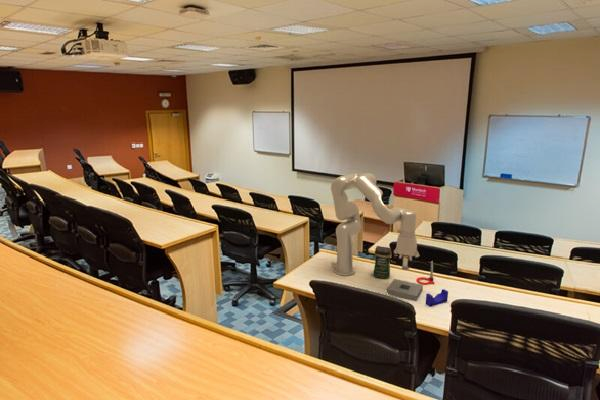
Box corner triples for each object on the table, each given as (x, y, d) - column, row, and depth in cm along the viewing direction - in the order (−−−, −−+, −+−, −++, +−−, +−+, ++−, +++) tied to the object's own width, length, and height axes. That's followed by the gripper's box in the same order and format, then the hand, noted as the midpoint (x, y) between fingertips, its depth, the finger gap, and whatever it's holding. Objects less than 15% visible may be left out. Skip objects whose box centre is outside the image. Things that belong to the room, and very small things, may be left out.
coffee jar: (372, 277, 222) (373, 248, 217) (375, 272, 229) (376, 243, 224) (388, 280, 218) (390, 250, 213) (391, 274, 225) (392, 245, 220)
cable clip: (440, 298, 198) (441, 287, 196) (447, 302, 194) (448, 291, 192) (423, 303, 193) (424, 292, 192) (429, 307, 189) (430, 296, 188)
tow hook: (418, 285, 212) (435, 285, 212) (418, 264, 209) (435, 264, 209) (414, 279, 220) (430, 278, 220) (415, 258, 217) (431, 258, 217)
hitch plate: (386, 293, 202) (386, 288, 201) (393, 283, 214) (394, 278, 213) (416, 301, 194) (416, 296, 194) (422, 289, 206) (422, 285, 206)
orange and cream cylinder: (401, 269, 200) (401, 255, 198) (403, 266, 203) (403, 252, 201) (407, 270, 198) (408, 256, 197) (409, 267, 201) (410, 254, 200)
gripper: (389, 233, 197) (388, 265, 201) (422, 238, 189) (419, 271, 193) (393, 229, 203) (392, 260, 208) (425, 233, 195) (422, 266, 200)
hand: (405, 265), depth 200 cm, fingers closed on orange and cream cylinder, 3 cm apart
